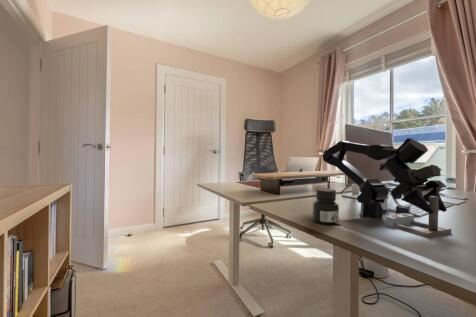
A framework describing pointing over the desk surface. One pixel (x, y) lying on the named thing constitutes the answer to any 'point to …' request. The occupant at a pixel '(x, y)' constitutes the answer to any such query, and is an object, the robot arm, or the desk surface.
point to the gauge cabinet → (399, 219)
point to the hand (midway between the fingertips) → (439, 212)
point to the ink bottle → (325, 207)
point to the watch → (402, 207)
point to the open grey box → (422, 233)
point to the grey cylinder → (433, 215)
